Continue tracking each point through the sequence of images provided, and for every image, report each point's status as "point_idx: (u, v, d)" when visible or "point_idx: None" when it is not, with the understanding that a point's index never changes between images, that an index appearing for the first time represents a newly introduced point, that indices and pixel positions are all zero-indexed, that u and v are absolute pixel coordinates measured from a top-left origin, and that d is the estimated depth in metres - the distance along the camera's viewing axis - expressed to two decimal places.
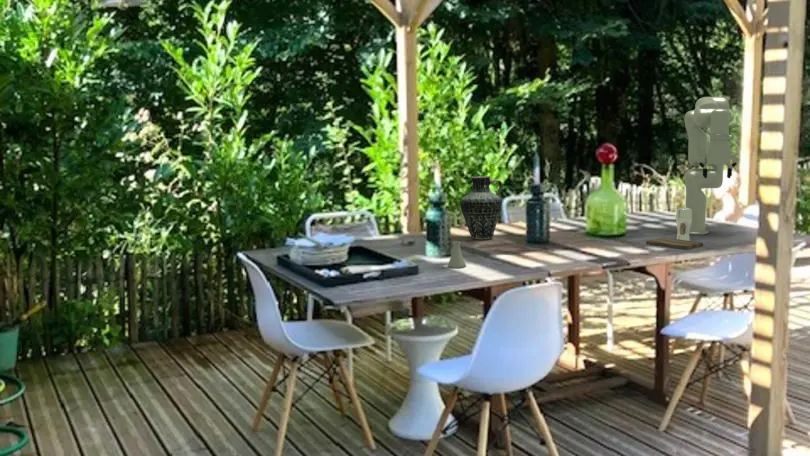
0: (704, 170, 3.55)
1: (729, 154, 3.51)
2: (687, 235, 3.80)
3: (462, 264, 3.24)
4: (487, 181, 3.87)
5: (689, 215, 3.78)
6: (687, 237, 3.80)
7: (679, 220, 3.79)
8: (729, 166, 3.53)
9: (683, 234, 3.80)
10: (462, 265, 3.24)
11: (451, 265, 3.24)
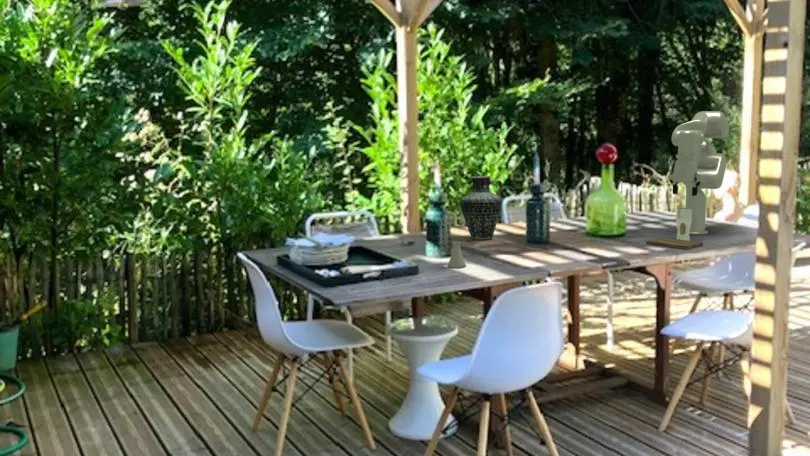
0: None
1: None
2: (687, 235, 3.80)
3: (462, 264, 3.24)
4: (487, 181, 3.87)
5: (689, 215, 3.78)
6: (687, 237, 3.80)
7: (679, 220, 3.79)
8: (677, 183, 3.83)
9: (683, 234, 3.80)
10: (462, 265, 3.24)
11: (451, 265, 3.24)
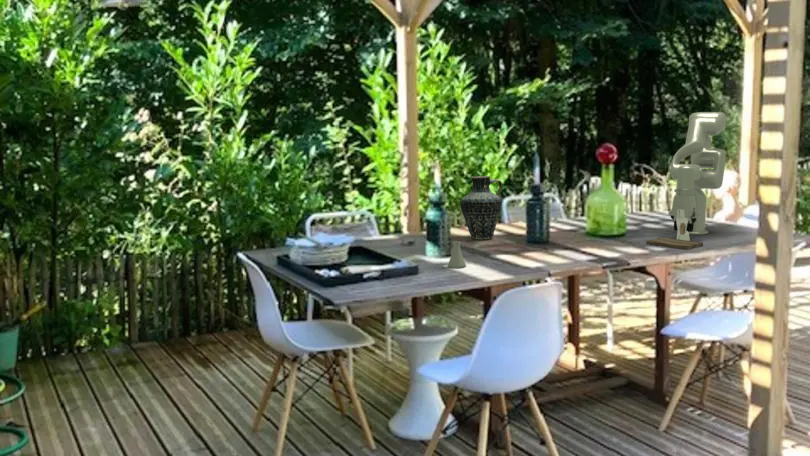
0: None
1: None
2: (687, 235, 3.80)
3: (462, 264, 3.24)
4: (487, 181, 3.87)
5: None
6: (687, 237, 3.80)
7: (679, 220, 3.79)
8: None
9: (683, 234, 3.80)
10: (462, 265, 3.24)
11: (451, 265, 3.24)
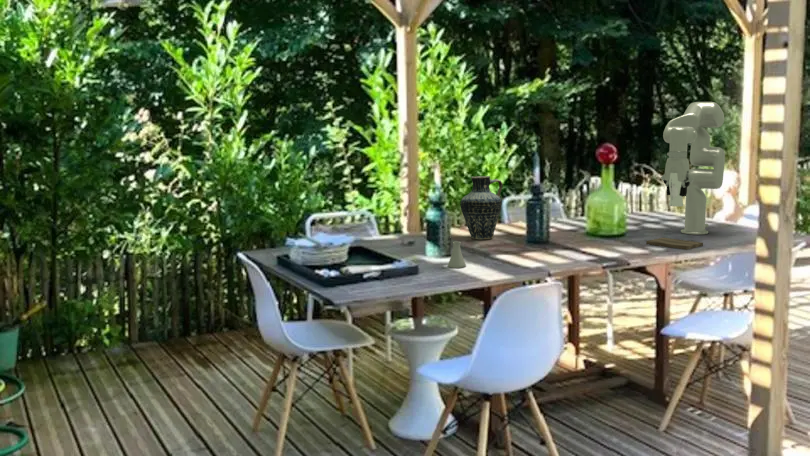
0: None
1: None
2: (680, 200, 3.65)
3: (462, 264, 3.24)
4: (487, 181, 3.87)
5: None
6: (680, 202, 3.65)
7: (672, 184, 3.65)
8: None
9: (676, 199, 3.65)
10: (462, 265, 3.24)
11: (451, 265, 3.24)
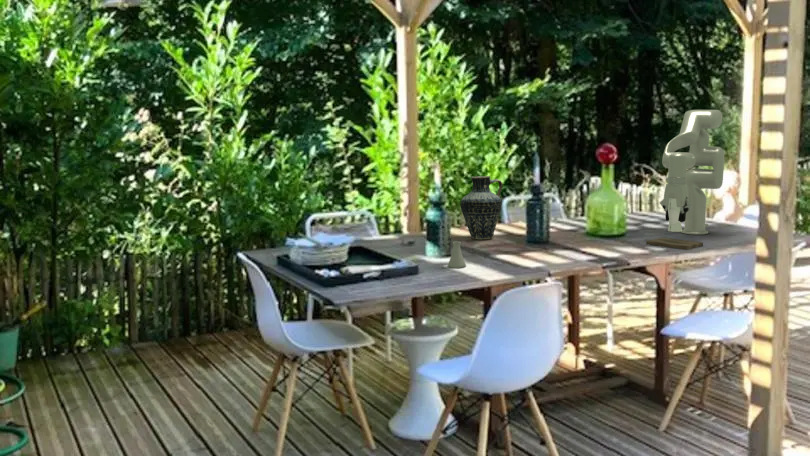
0: None
1: None
2: (679, 225, 3.67)
3: (462, 264, 3.24)
4: (487, 181, 3.87)
5: None
6: (679, 227, 3.67)
7: (671, 210, 3.66)
8: None
9: (675, 224, 3.67)
10: (462, 265, 3.24)
11: (451, 265, 3.24)
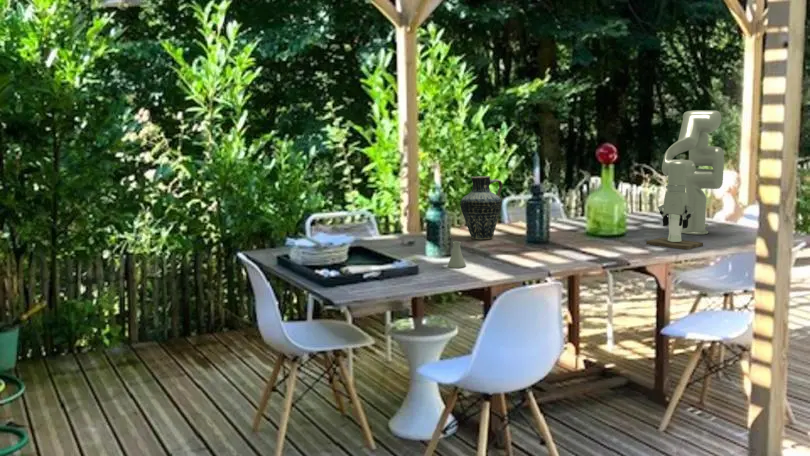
0: None
1: None
2: (679, 236, 3.68)
3: (462, 264, 3.24)
4: (487, 181, 3.87)
5: (681, 215, 3.66)
6: (679, 238, 3.68)
7: (671, 220, 3.68)
8: None
9: (675, 235, 3.68)
10: (462, 265, 3.24)
11: (451, 265, 3.24)
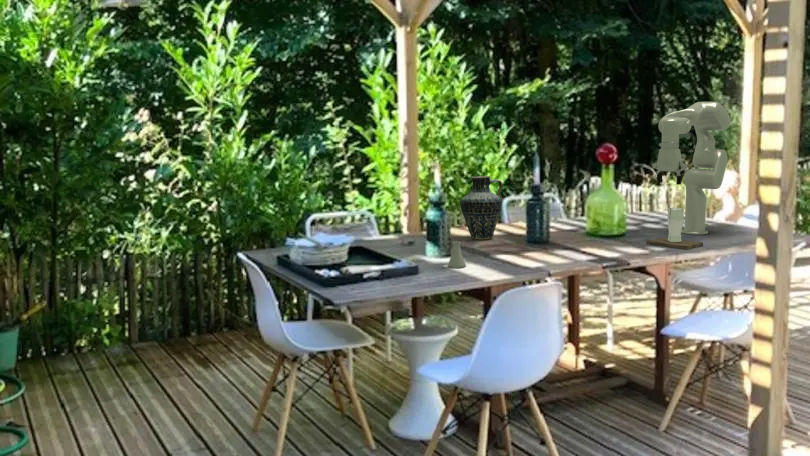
0: None
1: None
2: (679, 236, 3.68)
3: (462, 264, 3.24)
4: (487, 181, 3.87)
5: (681, 215, 3.66)
6: (679, 238, 3.68)
7: (670, 220, 3.68)
8: (661, 171, 3.80)
9: (675, 235, 3.68)
10: (462, 265, 3.24)
11: (451, 265, 3.24)
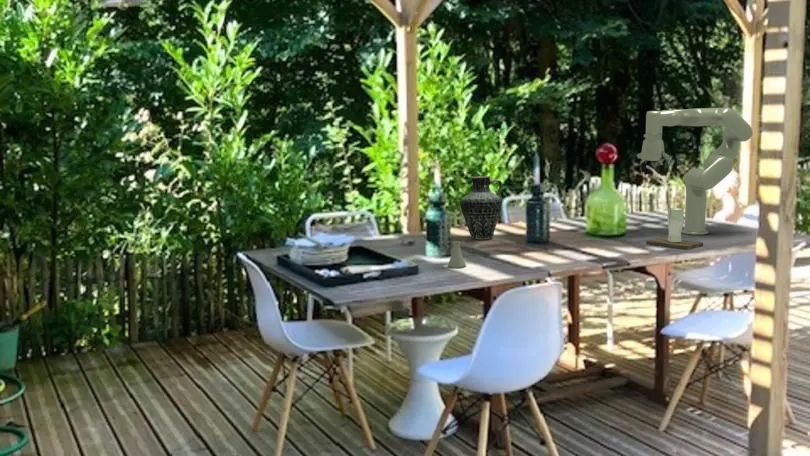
0: None
1: None
2: (679, 236, 3.68)
3: (462, 264, 3.24)
4: (487, 181, 3.87)
5: (680, 215, 3.66)
6: (678, 238, 3.68)
7: (670, 220, 3.68)
8: (646, 161, 3.99)
9: (675, 235, 3.68)
10: (462, 265, 3.24)
11: (451, 265, 3.24)
